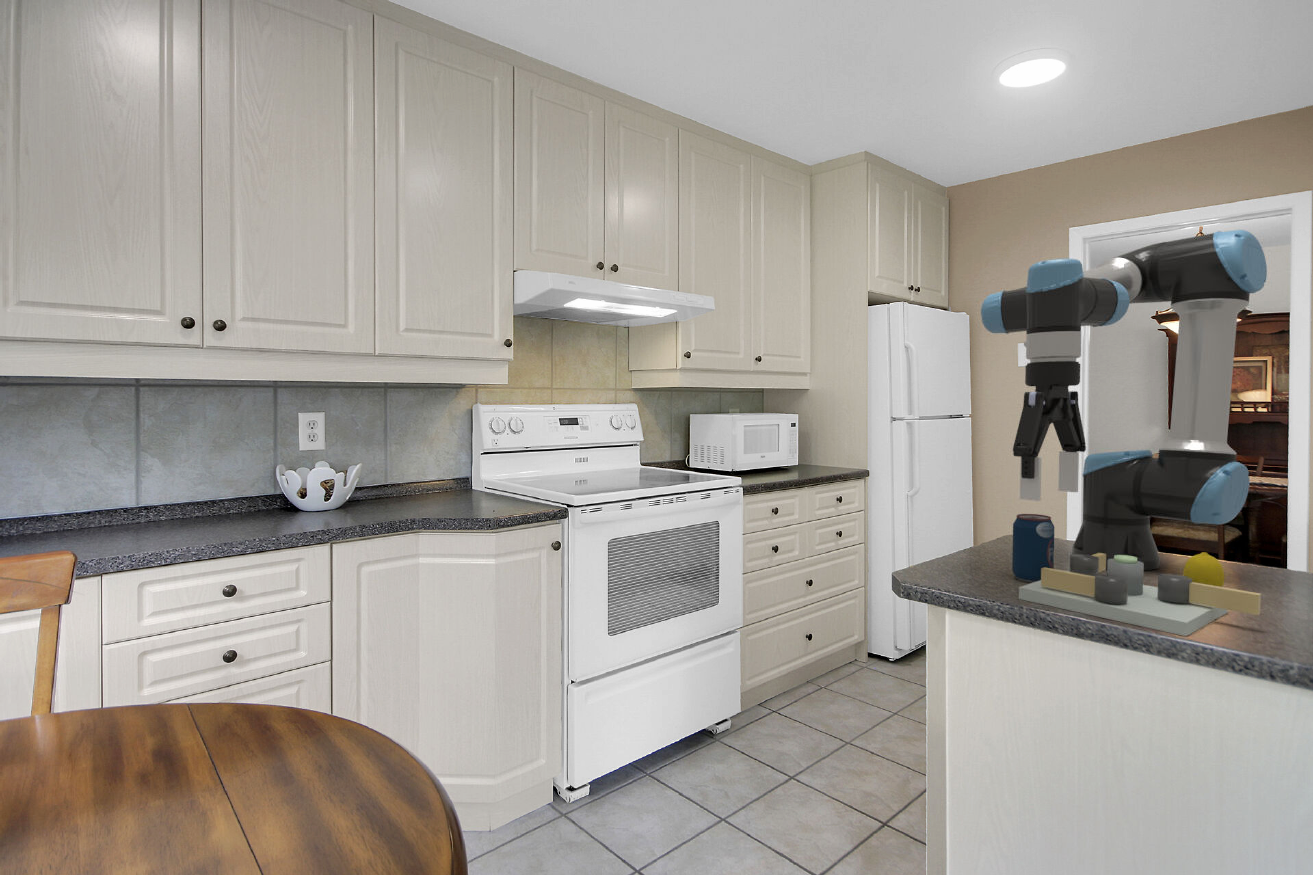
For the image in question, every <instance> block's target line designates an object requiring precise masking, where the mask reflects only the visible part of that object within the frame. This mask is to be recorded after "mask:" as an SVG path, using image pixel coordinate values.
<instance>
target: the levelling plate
mask: <svg viewBox="0 0 1313 875" xmlns="http://www.w3.org/2000/svg"><path fill="white" fill-rule="evenodd" d="M1106 569H1107V571H1106V573H1107V575H1116V576H1121V577H1125V578H1127V579H1128V598H1127V603H1123V604H1115V603H1107V602H1102V601H1099V600H1096V599H1095V598H1094V596H1089V595H1084V594H1079V593H1074V592H1069V591H1064V590H1059V589H1054V588H1049V587H1045V586H1041V580H1040V581H1037V582H1034V583H1033V582H1030V583H1028V584H1025V585H1023V586H1019V587H1018V599H1019V600H1022V601H1026V602H1031V603H1035V604H1040V605H1045V606H1048V607H1054V608H1058V609H1062V610H1066V611H1072V612H1076V613H1081V614H1085V615H1089V616H1093V617H1098V618H1103V619H1108V620H1111V621H1115V622H1121V623H1125V624H1129V625H1134V626H1138V627H1143V628H1147V629H1151V630H1157V631H1161V632H1165V633H1169V634H1170V633H1171V634H1174V635H1179V636H1182V637H1187V636H1190V635H1191V634H1193V633H1194V632H1197V631H1199V630H1200V629H1201V628H1203V627H1205V626H1207V625H1209V624H1210V623H1212V622H1214V621H1215V619H1216V620H1218V619H1219V618H1221V617H1223V616H1224V615H1226V614H1228V612H1229V610H1227V609H1222V608H1216V607H1211V606H1206V605H1201V604H1195V603H1174V602H1168V601H1164V600H1161V599H1159V598H1158V597H1157V593H1158V586H1153V585H1145V584H1144V571H1145V570H1144V563H1142V562H1140V561H1137V558H1136V557H1134V556H1128V555H1115V556H1114V558H1113V559H1108V566H1107V568H1106ZM1067 571H1068V572H1070V570H1067ZM1208 623H1209V624H1208Z"/></svg>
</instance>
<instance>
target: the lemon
mask: <svg viewBox="0 0 1313 875" xmlns="http://www.w3.org/2000/svg"><path fill="white" fill-rule="evenodd" d="M1182 576H1186V577H1190V578H1192V582H1195V583H1201V584H1207V585H1213V586H1219V587H1224V583H1225V580H1226V578H1225V576H1226V575H1225V570H1224V567H1223V565H1222V564H1221V562H1220V561H1219V560H1218V559H1217V558H1216V557H1214V556H1212V555H1210V554H1209V553H1208V552H1201V553H1198V554H1195V555H1193V556H1191V557H1189V558H1188V559H1187V560H1186V562H1185V564H1184V567H1183V574H1182Z"/></svg>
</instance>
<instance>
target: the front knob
mask: <svg viewBox="0 0 1313 875" xmlns="http://www.w3.org/2000/svg"><path fill="white" fill-rule="evenodd" d="M1068 571H1069V570H1067V571H1066V570H1060V569H1058V568H1057V569H1055V568H1054V569H1051V568H1046V567H1044V568H1041V586H1045V587H1049V588H1054V589H1059V590H1064V591H1069V592H1074V593H1079V594H1084V595H1089V596H1094V598H1095V599H1096V600H1099V601H1102V602H1107V603H1115V604H1123V603H1127V598H1128V579H1127V578H1125V577H1121V576H1116V575H1107V574H1105V573H1104V574H1101V573H1100V574H1098V575H1095V576H1089V575H1084V574H1079V573H1073V572H1068Z"/></svg>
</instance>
